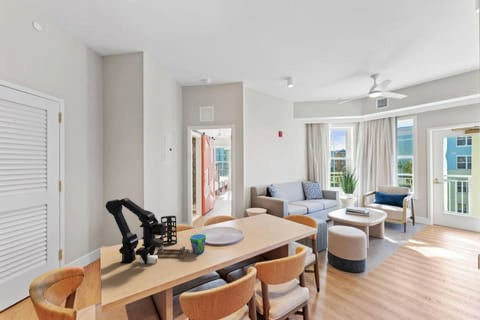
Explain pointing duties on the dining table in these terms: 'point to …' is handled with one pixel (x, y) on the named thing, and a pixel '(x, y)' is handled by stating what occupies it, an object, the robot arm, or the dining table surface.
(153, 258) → the roll
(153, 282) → the dining table surface
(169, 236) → the holder
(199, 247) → the snack cup
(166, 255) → the cradle
